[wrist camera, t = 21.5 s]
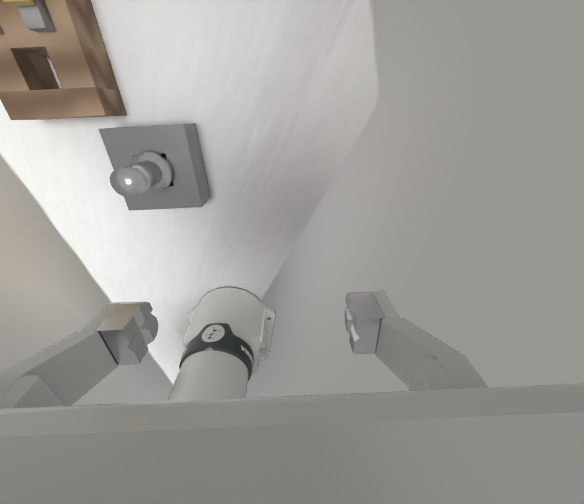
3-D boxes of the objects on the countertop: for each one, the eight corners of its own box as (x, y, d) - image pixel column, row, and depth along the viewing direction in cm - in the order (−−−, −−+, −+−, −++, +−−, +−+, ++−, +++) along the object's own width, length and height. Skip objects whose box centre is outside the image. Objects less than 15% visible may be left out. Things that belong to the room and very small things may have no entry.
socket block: (126, 115, 36) (98, 115, 30) (43, 119, 36) (0, 120, 30) (75, -48, 28) (24, -86, 23) (-31, -42, 28) (-107, -79, 23)
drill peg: (189, 180, 40) (155, 204, 30) (157, 182, 40) (111, 206, 30) (181, 145, 38) (140, 158, 27) (146, 147, 38) (92, 160, 27)
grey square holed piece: (210, 197, 42) (201, 206, 38) (144, 200, 42) (129, 210, 38) (195, 123, 36) (183, 124, 32) (120, 127, 36) (98, 129, 32)
